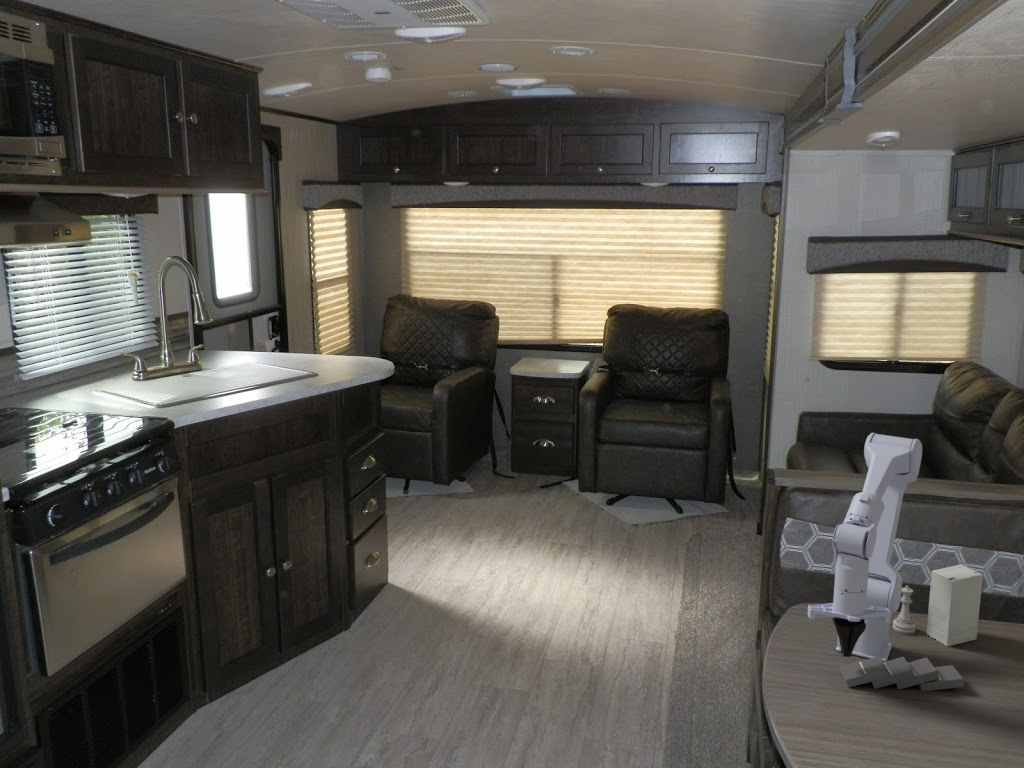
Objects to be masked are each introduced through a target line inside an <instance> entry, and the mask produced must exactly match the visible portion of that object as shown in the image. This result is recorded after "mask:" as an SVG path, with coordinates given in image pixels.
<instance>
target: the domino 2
mask: <svg viewBox="0 0 1024 768" xmlns="http://www.w3.org/2000/svg"><path fill="white" fill-rule="evenodd" d="M882 662H883V661H882ZM908 663H909V662H908V661H907V660H906V658H905V656H901V657H897V658H893V659H890V660H887V661H886V662H883V664H884V666H885V668H886V670H887V673H888V676H889V677H888V678H884V679H880V680H876V681H872V682H870V683H871V685H872V687H873V688H874V689H875V690H877V689H880V688H884V687H887V686H890V685H893V684H894V685H895V683H897V682H901V681H904V680H908V679H911V678H914V677H915V676H914V673H913V670H912V668H911V667H910V665H909V664H908Z"/></svg>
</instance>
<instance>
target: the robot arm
mask: <svg viewBox="0 0 1024 768" xmlns="http://www.w3.org/2000/svg"><path fill="white" fill-rule="evenodd" d="M863 448H864V449H863V456H864V459H865V465H866V466H867V468H868V469H867V470H868V471H867V473H866V478H865V480H864V484H863V487H862V488H863V489H862V491H861V492H858V493H856V494H854V495H853V498H852V499H851V502H850V505H849V508H848V510H847V512H846V515H845V518H844V519H843V522H842V523H841V524H840V523H838V524H837V525H836V526H835V529H834V531H833V536H832V546H831V547H832V550H833V562H835V570H834V571H835V572H834V584H833V585H834V587H833V600H832V601H833V602H829V603H822V604H808V605H807V616H808V618H809V619H810V620H816V618H818V619H832V622H833V624H834V626H835V629H836V632H837V639H836V640H837V643H836V647H835V648H836V649H835V650H836V651H837V652H840V653H841V654H842V656H843V657H847V658H851V657H852V655H854V656H857V657H861V658H866V659H870V658H874V657H878V656H880V658H881V660H882V662H886V661H888V658H889V655H890V652H891V650H892V647H893V643H891V642H889V637H890V636H889V634H890V625H891V617H892V614H894V613H896V612H897V611H898V609H899V607H900V605H901V602H900V601H901V598H902V594H903V593H902V589H901V588H903V587H902V586H903V578H902V575H901V574H900V572H899V571H898V570H897V569H896V568H895V567H894V566H893V565H892V564H891V562H892V561H891V560H892V556H893V552H894V551H893V550H894V545H895V541H896V535H897V530H898V524H899V519H900V514H901V509H902V503H903V497H904V494H905V490H906V488H907V486H908V484H910V483H914V482H916V481H917V478H918V476H919V473H920V468H921V463H922V458H923V444H922V442H921V440H920V439H918V438H908V437H902V436H901V437H900V436H894V435H886V434H879V433H876V432H870V434H869V435H868V436H867V437H866V440H865V443H864V447H863ZM875 576H878V577H875ZM879 577H882V578H879ZM884 578H886V579H884ZM888 579H889V580H888Z"/></svg>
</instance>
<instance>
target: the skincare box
mask: <svg viewBox="0 0 1024 768" xmlns="http://www.w3.org/2000/svg"><path fill="white" fill-rule="evenodd" d="M983 579H984V575H983V574H982V573H980V572H978V571H976V570H974V569H972V568H969V567H968V566H965V565H963V564H957V565H952V566H947V567H943V568H939V569H934V570H931V577H930V589H929V599H928V601H929V602H928V607H927V608H928V611H927V621H926V633H925V634H926V635H927V636H928V635H929V637H930V638H931V639H933V638H934V640H935V639H936V640H935V641H937V642H938V641H939V643H940V642H941V643H940V644H942V643H943V644H944V646H945V645H946V646H945V647H947V646H948V647H951V646H952V647H953V646H955V645H959V644H963V643H967V642H971V641H974V640H977V636H978V628H979V617H980V606H981V599H982V598H981V597H982V590H983V589H982V588H983ZM943 644H942V645H943Z"/></svg>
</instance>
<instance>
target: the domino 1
mask: <svg viewBox="0 0 1024 768" xmlns="http://www.w3.org/2000/svg"><path fill="white" fill-rule="evenodd" d="M839 668H840V670H841V674H842V675H843V678H844V681H845V682H846V685H847V687H849V688H853V687H856V686H859V685H863V684H868V683H871V682H872V681H876V680H880V679H884V678H888V677H889V676H888V673H887V670H886V668H885V666H884V664H883V661H882V660H881V658H880V656H878V657H874V658H866V659H862V660H859V661H856V662H855V661H854V662H852V663H847V664H843V665H840V666H839Z"/></svg>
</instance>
